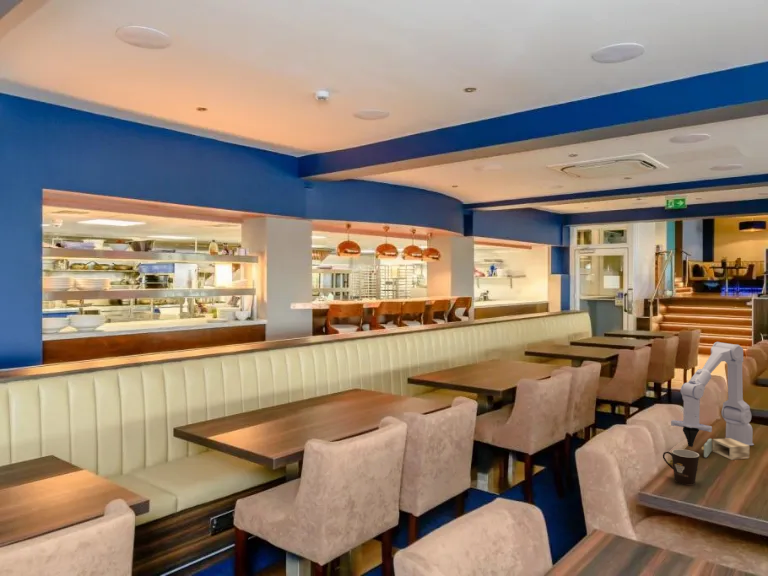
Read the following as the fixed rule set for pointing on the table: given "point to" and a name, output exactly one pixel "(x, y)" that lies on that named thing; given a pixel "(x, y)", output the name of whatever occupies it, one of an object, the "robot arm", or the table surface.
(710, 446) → the door
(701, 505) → the table surface
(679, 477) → the coffee mug
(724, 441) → the cabinet
